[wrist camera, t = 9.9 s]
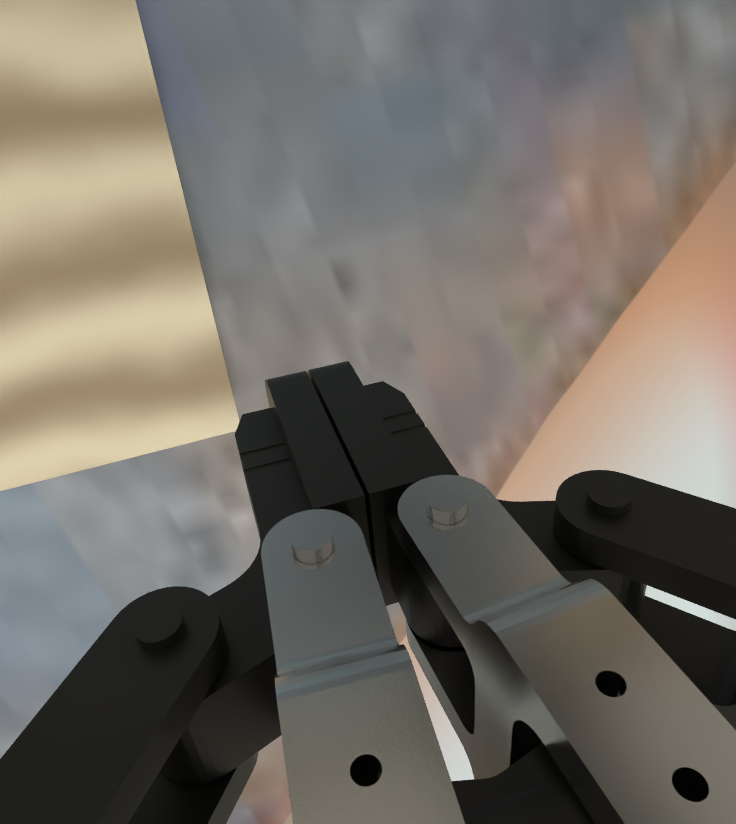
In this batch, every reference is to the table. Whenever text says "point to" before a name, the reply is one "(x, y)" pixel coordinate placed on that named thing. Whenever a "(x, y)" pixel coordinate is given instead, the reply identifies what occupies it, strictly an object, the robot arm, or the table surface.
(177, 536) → the table surface
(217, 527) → the table surface
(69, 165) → the deck
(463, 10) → the table surface
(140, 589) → the table surface
